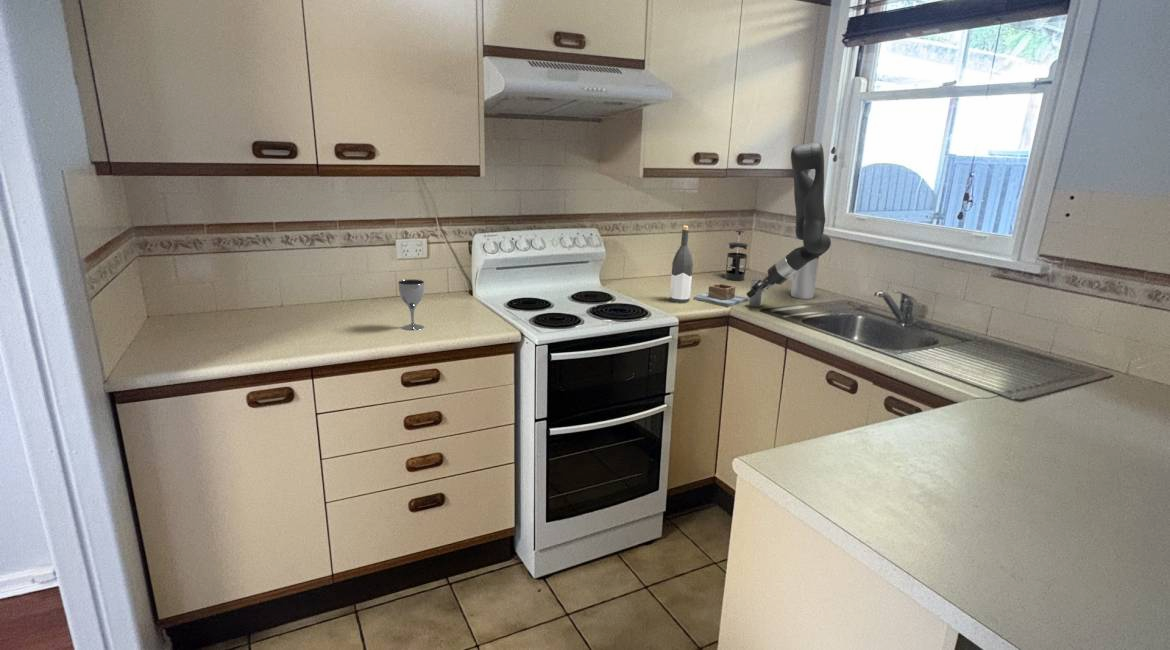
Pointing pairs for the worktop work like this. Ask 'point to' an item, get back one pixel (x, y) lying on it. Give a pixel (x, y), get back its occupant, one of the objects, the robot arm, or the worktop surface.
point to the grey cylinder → (755, 296)
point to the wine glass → (411, 298)
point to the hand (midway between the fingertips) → (751, 294)
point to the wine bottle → (681, 271)
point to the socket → (721, 295)
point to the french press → (736, 262)
